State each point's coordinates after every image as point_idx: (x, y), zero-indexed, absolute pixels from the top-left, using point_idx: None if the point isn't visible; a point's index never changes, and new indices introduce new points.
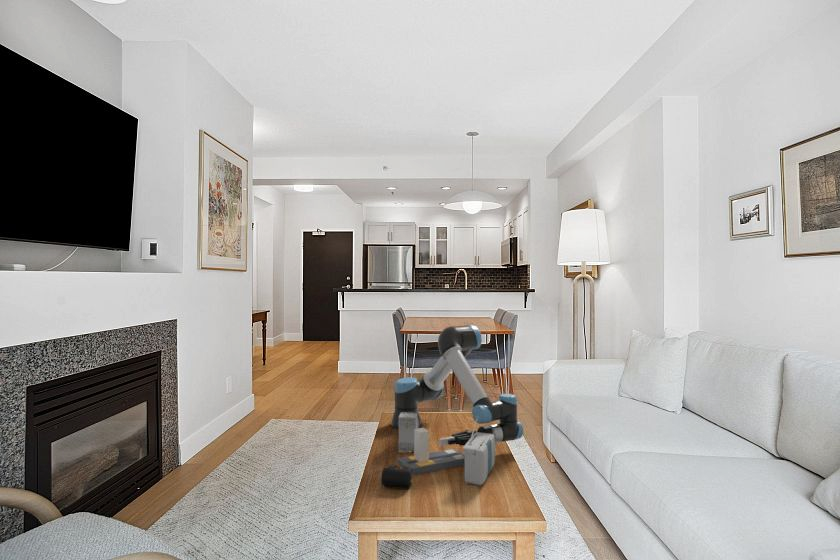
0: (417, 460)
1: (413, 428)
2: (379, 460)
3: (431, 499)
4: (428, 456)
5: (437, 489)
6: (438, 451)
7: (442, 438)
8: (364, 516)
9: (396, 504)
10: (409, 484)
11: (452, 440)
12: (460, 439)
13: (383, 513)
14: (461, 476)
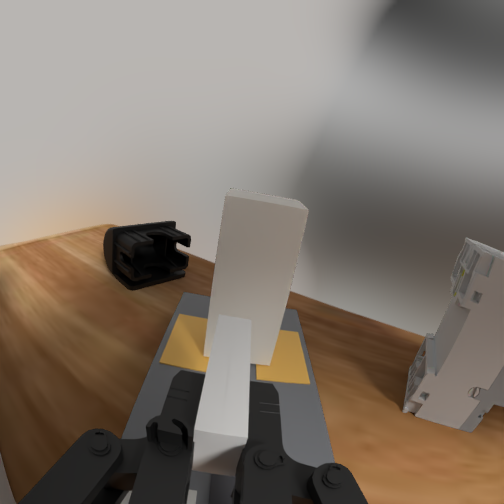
0: None
1: (465, 312)
2: (342, 316)
3: (39, 270)
4: (206, 335)
5: (49, 299)
6: (331, 462)
7: (239, 335)
8: (105, 225)
9: (89, 246)
10: (106, 257)
11: (172, 398)
12: (89, 433)
13: (88, 232)
14: (23, 397)
